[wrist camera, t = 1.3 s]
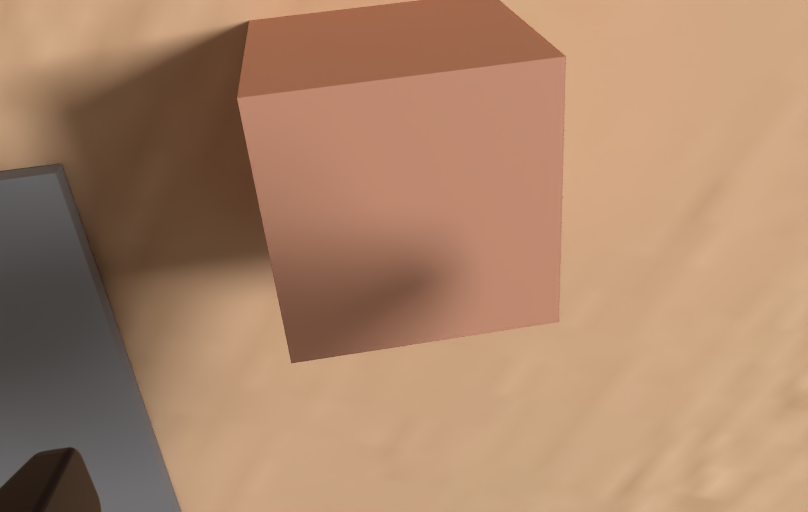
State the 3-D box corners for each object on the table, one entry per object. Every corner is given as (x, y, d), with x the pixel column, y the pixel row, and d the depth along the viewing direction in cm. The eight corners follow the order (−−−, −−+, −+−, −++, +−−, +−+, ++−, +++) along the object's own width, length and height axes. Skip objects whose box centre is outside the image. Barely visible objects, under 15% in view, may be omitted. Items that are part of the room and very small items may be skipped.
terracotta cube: (494, 204, 18) (558, 321, 14) (288, 232, 18) (291, 363, 14) (488, -9, 16) (565, 56, 12) (249, 20, 15) (237, 97, 11)
